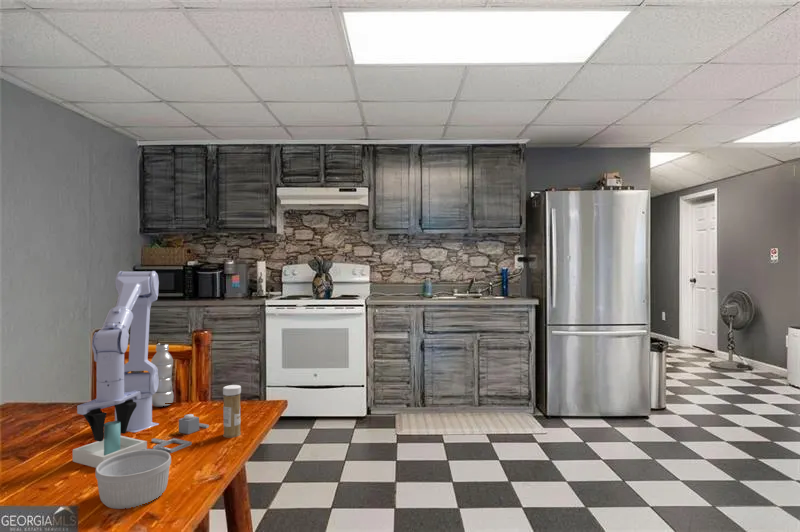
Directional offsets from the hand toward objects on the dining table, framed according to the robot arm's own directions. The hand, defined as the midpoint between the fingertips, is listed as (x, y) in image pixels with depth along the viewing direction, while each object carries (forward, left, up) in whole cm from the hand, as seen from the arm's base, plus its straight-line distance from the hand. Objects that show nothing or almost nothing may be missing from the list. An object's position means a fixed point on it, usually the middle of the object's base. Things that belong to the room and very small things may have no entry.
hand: (110, 436), depth 118 cm
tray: (0, 0, -5) cm, 5 cm away
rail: (+4, +17, -5) cm, 19 cm away
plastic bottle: (-25, +35, -5) cm, 43 cm away
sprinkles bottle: (+16, +23, -5) cm, 28 cm away
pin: (0, 0, -4) cm, 4 cm away
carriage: (+4, +20, -4) cm, 21 cm away
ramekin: (+23, -11, -5) cm, 26 cm away
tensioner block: (+9, +6, -5) cm, 12 cm away
